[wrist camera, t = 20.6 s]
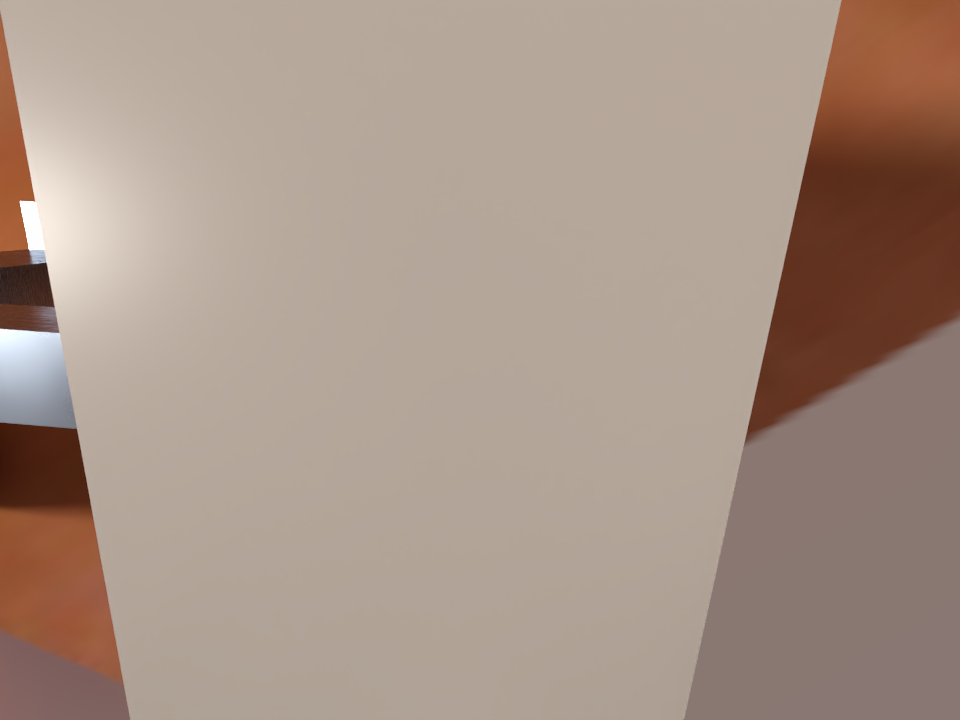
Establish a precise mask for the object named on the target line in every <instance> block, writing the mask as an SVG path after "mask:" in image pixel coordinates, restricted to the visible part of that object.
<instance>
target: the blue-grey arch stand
mask: <svg viewBox="0 0 960 720" xmlns="http://www.w3.org/2000/svg"><path fill="white" fill-rule="evenodd" d="M20 204H21V209H22V214H23V219H24V224H25V229H26V234H27V239H28V244H29V249H28V250H15V251H2V252H0V422H1V423H13V424H25V425H37V426H49V427H60V428H72V429H77V426H76V420H75V415H74V409H73V404H72V398H71V393H70V387H69V382H68V376H67V371H66V366H65V360H64V355H63V349H62V344H61V338H60V333H59V327H58V322H57V316H56V311H55V306H54V300H53V295H52V289H51V284H50V278H49V273H48V267H47V262H46V256H45V251H44V246H43V240H42V235H41V229H40V224H39V218H38V213H37V207H36V202H35V201H20Z"/></svg>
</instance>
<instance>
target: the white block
mask: <svg viewBox="0 0 960 720" xmlns="http://www.w3.org/2000/svg"><path fill="white" fill-rule="evenodd" d="M840 5H841V0H0V11H1V16H2V22H3V27H4V33H5V38H6V44H7V49H8V55H9V60H10V66H11V71H12V76H13V82H14V87H15V93H16V98H17V104H18V109H19V115H20V120H21V126H22V131H23V136H24V142H25V147H26V153H27V158H28V164H29V169H30V175H31V180H32V186H33V191H34V196H35V202H36V207H37V213H38V218H39V224H40V229H41V235H42V240H43V246H44V251H45V256H46V262H47V267H48V273H49V278H50V284H51V289H52V295H53V300H54V306H55V311H56V316H57V322H58V327H59V333H60V338H61V344H62V349H63V355H64V360H65V366H66V371H67V376H68V382H69V387H70V393H71V398H72V404H73V409H74V415H75V420H76V426H77V431H78V436H79V442H80V447H81V453H82V458H83V464H84V469H85V475H86V480H87V486H88V491H89V496H90V502H91V507H92V513H93V518H94V524H95V529H96V535H97V540H98V546H99V551H100V556H101V562H102V567H103V573H104V578H105V584H106V589H107V595H108V600H109V606H110V611H111V616H112V622H113V627H114V633H115V638H116V644H117V649H118V655H119V660H120V666H121V671H122V676H123V682H124V687H125V693H126V698H127V704H128V709H129V715H130V720H684V716H685V712H686V707H687V703H688V698H689V694H690V689H691V685H692V680H693V675H694V671H695V666H696V662H697V657H698V652H699V648H700V644H701V639H702V635H703V630H704V625H705V621H706V616H707V612H708V607H709V602H710V598H711V593H712V589H713V584H714V580H715V575H716V570H717V566H718V561H719V557H720V552H721V548H722V543H723V539H724V534H725V530H726V525H727V520H728V516H729V511H730V506H731V502H732V498H733V493H734V489H735V484H736V479H737V475H738V470H739V465H740V461H741V457H742V452H743V447H744V443H745V438H746V434H747V429H748V425H749V420H750V415H751V411H752V406H753V402H754V397H755V393H756V388H757V384H758V379H759V374H760V370H761V365H762V361H763V356H764V352H765V347H766V342H767V338H768V333H769V329H770V324H771V320H772V315H773V310H774V306H775V301H776V297H777V292H778V288H779V283H780V279H781V274H782V269H783V265H784V260H785V256H786V251H787V247H788V242H789V237H790V233H791V228H792V224H793V219H794V215H795V210H796V205H797V201H798V196H799V192H800V187H801V183H802V178H803V174H804V169H805V164H806V160H807V155H808V151H809V146H810V142H811V137H812V132H813V128H814V123H815V119H816V114H817V110H818V105H819V100H820V96H821V91H822V87H823V82H824V78H825V73H826V69H827V64H828V59H829V55H830V50H831V46H832V41H833V37H834V32H835V27H836V23H837V18H838V14H839V9H840Z"/></svg>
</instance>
